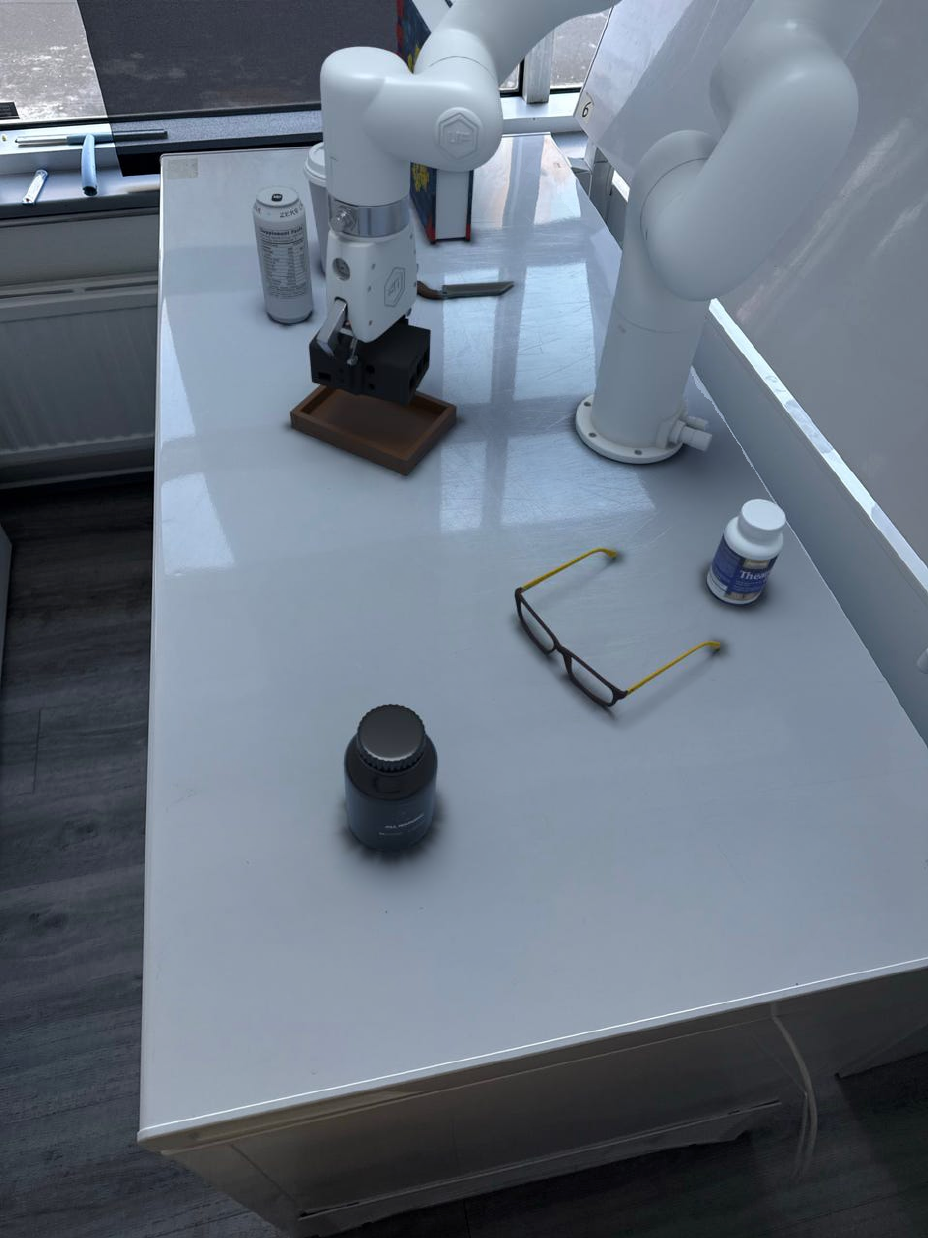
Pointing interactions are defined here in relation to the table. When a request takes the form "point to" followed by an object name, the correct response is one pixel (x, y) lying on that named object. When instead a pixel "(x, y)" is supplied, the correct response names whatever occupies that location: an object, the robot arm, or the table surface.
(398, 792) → the supplement bottle
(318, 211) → the coffee cup
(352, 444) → the docking tray
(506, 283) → the knife
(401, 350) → the electronic device
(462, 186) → the book
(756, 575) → the pill bottle
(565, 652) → the eyeglasses
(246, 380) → the table surface
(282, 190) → the energy drink can
